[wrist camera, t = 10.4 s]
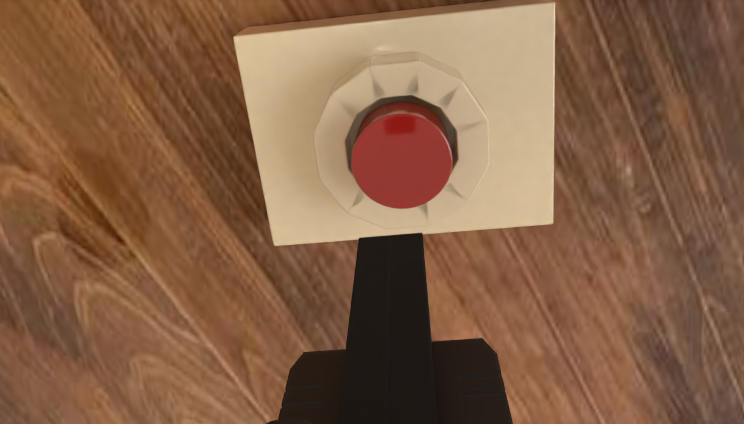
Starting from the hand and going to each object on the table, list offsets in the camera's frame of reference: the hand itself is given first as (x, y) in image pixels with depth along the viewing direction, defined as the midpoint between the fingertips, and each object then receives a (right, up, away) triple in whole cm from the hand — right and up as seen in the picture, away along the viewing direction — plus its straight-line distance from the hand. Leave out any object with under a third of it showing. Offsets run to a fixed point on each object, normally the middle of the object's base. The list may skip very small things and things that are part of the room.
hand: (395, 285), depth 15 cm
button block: (+1, +6, +12) cm, 13 cm away
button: (+1, +4, +9) cm, 10 cm away
